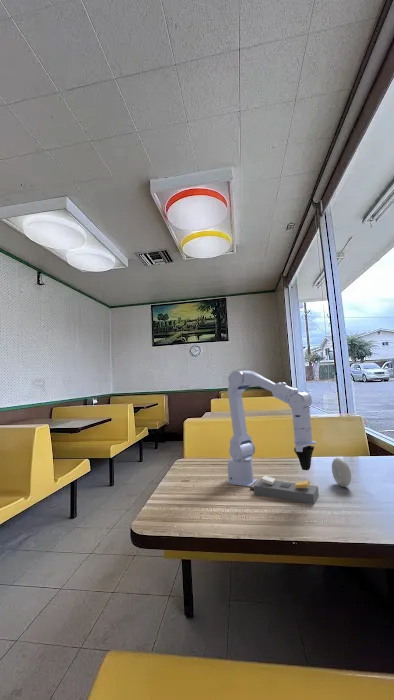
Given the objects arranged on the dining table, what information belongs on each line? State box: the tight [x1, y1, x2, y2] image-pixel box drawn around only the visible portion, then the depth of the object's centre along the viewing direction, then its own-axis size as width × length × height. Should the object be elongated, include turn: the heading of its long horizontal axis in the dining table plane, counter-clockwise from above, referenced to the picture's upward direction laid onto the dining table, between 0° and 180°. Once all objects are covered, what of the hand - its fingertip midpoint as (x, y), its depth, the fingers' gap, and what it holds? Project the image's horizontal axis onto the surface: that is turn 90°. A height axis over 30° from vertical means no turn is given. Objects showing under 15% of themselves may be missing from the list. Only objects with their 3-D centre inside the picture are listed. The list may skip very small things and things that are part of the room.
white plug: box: [260, 475, 277, 485], centre depth 107 cm, size 4×4×1 cm
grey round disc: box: [331, 457, 352, 488], centre depth 109 cm, size 10×4×10 cm, turn 2°
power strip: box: [249, 479, 320, 505], centre depth 105 cm, size 23×8×3 cm, turn 58°
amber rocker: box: [295, 480, 311, 488], centre depth 101 cm, size 4×4×1 cm
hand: (306, 469), depth 101 cm, fingers closed
